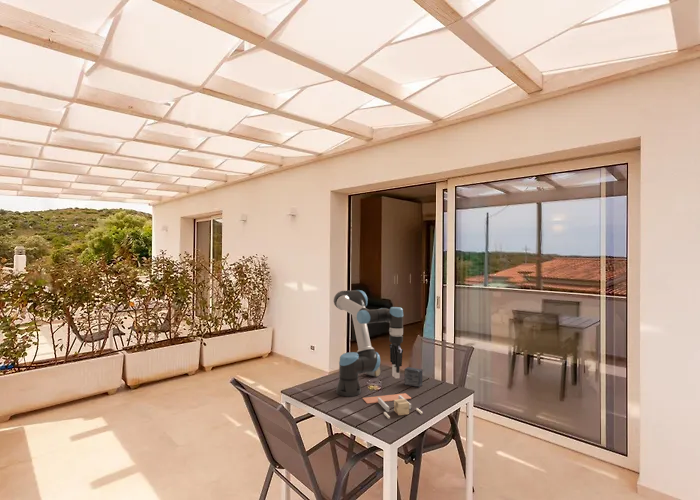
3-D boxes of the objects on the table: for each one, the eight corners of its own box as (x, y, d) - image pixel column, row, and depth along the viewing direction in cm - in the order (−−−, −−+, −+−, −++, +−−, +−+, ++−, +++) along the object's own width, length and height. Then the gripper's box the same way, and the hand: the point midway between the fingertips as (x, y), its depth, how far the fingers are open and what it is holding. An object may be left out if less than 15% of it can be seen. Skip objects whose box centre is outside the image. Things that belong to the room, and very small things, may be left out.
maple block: (394, 410, 198) (394, 399, 198) (404, 409, 200) (404, 398, 200) (398, 415, 192) (398, 404, 192) (409, 414, 194) (409, 402, 194)
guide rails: (377, 401, 210) (377, 397, 210) (400, 399, 214) (400, 395, 214) (387, 411, 196) (387, 407, 196) (411, 408, 201) (411, 404, 201)
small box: (422, 385, 239) (423, 369, 239) (419, 388, 233) (419, 371, 233) (408, 382, 244) (408, 366, 244) (404, 384, 239) (404, 368, 239)
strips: (383, 413, 194) (383, 412, 194) (417, 409, 200) (417, 407, 200) (388, 418, 188) (388, 416, 188) (422, 414, 194) (422, 412, 194)
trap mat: (362, 398, 214) (362, 397, 214) (405, 393, 223) (405, 393, 223) (367, 403, 207) (367, 403, 207) (411, 398, 215) (411, 398, 215)
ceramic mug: (375, 378, 251) (375, 367, 251) (365, 376, 256) (365, 364, 256) (383, 374, 260) (383, 363, 260) (373, 372, 264) (373, 361, 265)
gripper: (384, 332, 211) (384, 373, 210) (395, 338, 196) (395, 382, 195) (396, 331, 213) (396, 372, 212) (408, 337, 198) (408, 381, 197)
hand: (395, 377), depth 204 cm, fingers open, 3 cm apart
